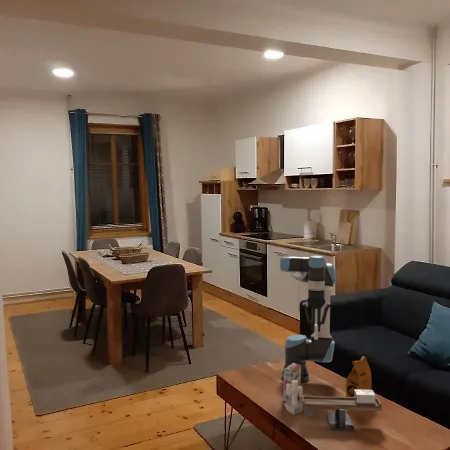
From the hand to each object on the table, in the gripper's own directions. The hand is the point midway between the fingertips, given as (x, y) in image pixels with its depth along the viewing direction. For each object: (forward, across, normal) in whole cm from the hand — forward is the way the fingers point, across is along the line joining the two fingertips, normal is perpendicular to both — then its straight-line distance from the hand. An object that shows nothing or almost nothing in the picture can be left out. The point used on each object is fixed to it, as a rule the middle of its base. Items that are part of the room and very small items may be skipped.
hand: (315, 338), depth 222 cm
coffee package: (+35, +22, +8) cm, 42 cm away
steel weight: (+25, +20, -13) cm, 34 cm away
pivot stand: (+34, +9, -13) cm, 38 cm away
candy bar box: (+35, -10, +11) cm, 38 cm away
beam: (+29, +9, -13) cm, 33 cm away
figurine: (+35, -10, -3) cm, 36 cm away
